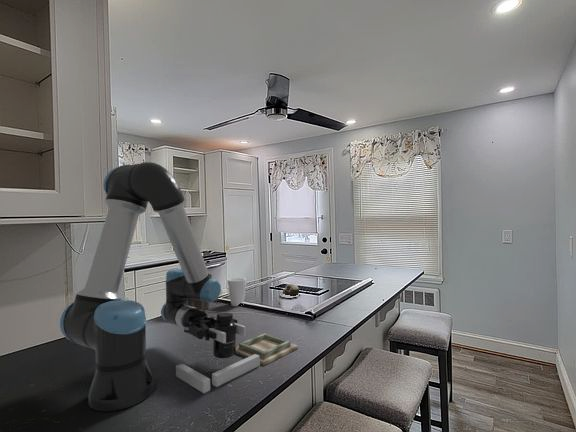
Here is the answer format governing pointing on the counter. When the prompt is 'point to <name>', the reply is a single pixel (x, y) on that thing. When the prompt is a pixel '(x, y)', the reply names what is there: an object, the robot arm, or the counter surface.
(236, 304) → the foam cup
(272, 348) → the seating station
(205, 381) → the bracket
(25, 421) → the counter surface
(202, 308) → the plant pot
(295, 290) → the skull
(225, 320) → the supplement bottle
